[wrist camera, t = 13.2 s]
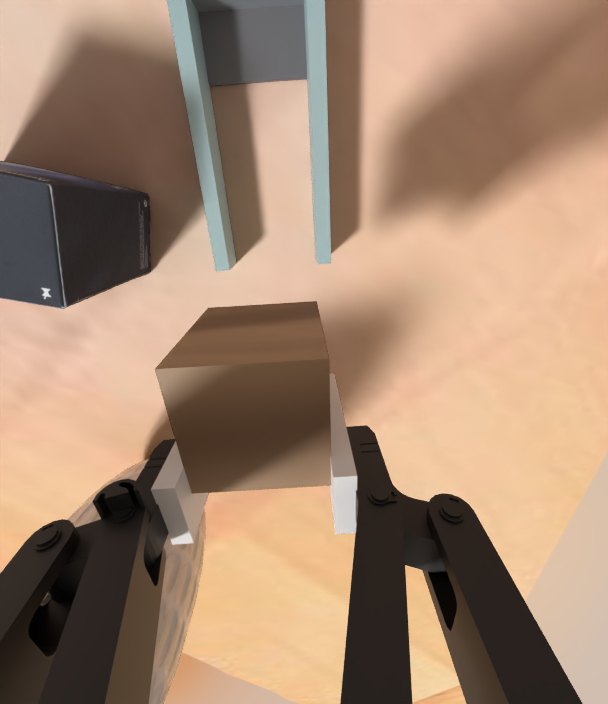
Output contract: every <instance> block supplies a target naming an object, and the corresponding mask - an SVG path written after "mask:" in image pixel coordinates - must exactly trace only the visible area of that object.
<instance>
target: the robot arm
mask: <svg viewBox="0 0 608 704" xmlns="http://www.w3.org/2000/svg"><path fill="white" fill-rule="evenodd" d="M330 417H331V457H330V460H331V484H332V485H330V494H331V503H332V511H333V520H334V528H335V534H344V533H356V536H355V547H354V559H353V570H352V581H351V592H350V603H349V615H348V626H347V637H346V648H345V660H344V671H343V682H342V693H341V704H412V690H411V671H410V652H409V633H408V614H407V595H406V576H405V565H407V566H411V567H414V568H418V569H421V570H423V573H424V576H425V579H426V582H427V585H428V588H429V591H430V594H431V597H432V600H433V603H434V606H435V609H436V613H437V616H438V619H439V622H440V625H441V628H442V631H443V634H444V637H445V640H446V643H447V646H448V649H449V652H450V655H451V658H452V661H453V664H454V667H455V670H456V673H457V676H458V679H459V682H460V685H461V688H462V691H463V694H464V697H465V700H466V703H467V704H582V702H581V700H580V698H579V697H578V695H577V693H576V691H575V690H574V688H573V686H572V684H571V683H570V681H569V679H568V677H567V675H566V674H565V672H564V670H563V669H562V667H561V665H560V663H559V661H558V659H557V658H556V656H555V654H554V652H553V651H552V649H551V647H550V645H549V643H548V642H547V640H546V638H545V636H544V635H543V633H542V631H541V630H540V627H539V626H538V624H537V622H536V620H535V619H534V617H533V615H532V613H531V612H530V610H529V608H528V606H527V604H526V603H525V601H524V599H523V597H522V596H521V594H520V592H519V590H518V588H517V587H516V585H515V583H514V581H513V580H512V578H511V576H510V574H509V572H508V571H507V569H506V567H505V565H504V564H503V562H502V560H501V558H500V556H499V555H498V553H497V551H496V549H495V548H494V546H493V544H492V542H491V540H490V539H489V537H488V535H487V533H486V532H485V530H484V528H483V526H482V525H481V523H480V521H479V519H478V517H477V516H476V514H475V512H474V510H473V509H472V508H471V507H470V505H469V504H468V503H466V502H465V501H464V500H462V499H461V498H459V497H457V496H454V495H451V494H439V495H435V496H434V497H433V498H431V499H430V502H427V501H422V500H418V499H414V498H410V497H408V496H406V495H404V494H402V493H401V492H399V491H398V490H397V489H396V488H395V487H394V486H393V484H392V482H391V480H390V477H389V474H388V471H387V468H386V465H385V462H384V459H383V456H382V453H381V451H380V447H379V444H378V442H377V439H376V436H375V433H374V432H373V431H372V430H371V429H370V428H369V427H368V426H353V427H346V423H345V419H344V414H343V410H342V405H341V401H340V397H339V392H338V388H337V383H336V379H335V374H334V373H333V374H330ZM208 494H209V493H195V494H192V492H191V489H190V486H189V483H188V479H187V476H186V473H185V470H184V467H183V464H182V461H181V457H180V454H179V450H178V447H177V444H176V440H175V439H172V440H164V441H163V442H162V443H160V444H159V445H158V446H157V447H156V448H155V449H154V451H153V452H152V454H151V456H150V458H149V461H147V463H146V464H145V466H144V469H143V470H142V471H141V473H140V475H139V476H138V478H137V480H136V481H135V480H131V479H122V480H118V481H116V482H113V483H111V484H109V485H108V486H106V487H104V488H103V489H102V490H101V491H100V492H99V493H98V494H97V495H96V496H95V498H94V499H93V501H92V502H93V504H94V506H95V508H96V510H97V512H98V514H99V516H100V518H101V519H99V520H97V521H94V522H91V523H88V524H85V525H82V526H79V527H76V528H75V526H74V524H73V523H72V522H71V521H70V520H63V519H62V520H58V521H53V522H51V523H49V524H47V525H45V526H43V527H42V528H40V529H39V530H38V531H36V532H35V533H34V534H33V535H32V536H31V537H30V538H29V539H28V540H27V541H26V542H25V543H24V544H23V546H22V547H21V548H20V550H19V551H18V552H17V553H16V555H15V556H14V557H13V558H12V560H11V561H10V562H9V563H8V565H7V566H6V567H5V568H4V570H3V571H2V572H1V574H0V704H149V697H150V688H151V680H152V672H153V663H154V655H155V647H156V638H157V630H158V622H159V613H160V605H161V597H162V588H163V580H164V572H165V563H166V551H165V549H164V544H165V542H166V539H167V536H168V535H169V538H170V540H171V543H172V545H174V544H189V543H194V540H195V537H196V534H197V530H198V527H199V524H200V520H201V517H202V514H203V511H204V507H205V504H206V501H207V497H208ZM47 593H48V594H47ZM46 594H47V596H46ZM45 596H46V597H45ZM44 598H45V599H44ZM43 599H44V600H43Z"/></svg>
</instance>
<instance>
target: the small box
mask: <svg viewBox="0 0 608 704" xmlns="http://www.w3.org/2000/svg"><path fill="white" fill-rule="evenodd" d="M149 222H150V209H149V196H148V195H147V194H145V193H142V192H138V191H134V190H131V189H127V188H124V187H119V186H116V185H112V184H107V183H103V182H99V181H95V180H90V179H85V178H81V177H77V176H72V175H68V174H63V173H59V172H54V171H50V170H46V169H41V168H36V167H31V166H26V165H20V164H15V163H10V162H4V161H0V298H2V299H9V300H14V301H20V302H26V303H32V304H38V305H44V306H50V307H56V308H62V309H65V308H66V307H68V306H70V305H73V304H76V303H78V302H81V301H83V300H85V299H88V298H90V297H92V296H95V295H97V294H99V293H102V292H105V291H106V290H109V289H111V288H113V287H115V286H118V285H120V284H123V283H125V282H128V281H130V280H132V279H135V278H138V277H141V276H143V275H146V274H149V273H150V272H151V270H150V268H151V264H150V242H149V239H150V238H149V234H150V230H149Z"/></svg>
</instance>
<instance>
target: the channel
mask: <svg viewBox="0 0 608 704" xmlns="http://www.w3.org/2000/svg"><path fill="white" fill-rule="evenodd" d="M167 4H168V9H169V15H170V20H171V26H172V31H173V37H174V42H175V48H176V54H177V59H178V65H179V70H180V76H181V81H182V87H183V92H184V98H185V103H186V109H187V114H188V120H189V125H190V131H191V136H192V142H193V147H194V153H195V158H196V164H197V169H198V175H199V180H200V186H201V191H202V197H203V202H204V208H205V213H206V219H207V224H208V230H209V235H210V241H211V246H212V252H213V257H214V263H215V268H216V271H225V270H230V269H231V268H232V267H233V266H234V265H235V264H236V256H235V250H234V243H233V236H232V230H231V223H230V217H229V210H228V203H227V197H226V190H225V184H224V177H223V171H222V164H221V157H220V151H219V144H218V138H217V131H216V124H215V118H214V111H213V105H212V98H211V92H210V86H217V85H231V84H245V83H260V82H274V81H288V80H302V79H307V84H308V106H309V129H310V151H311V173H312V195H313V217H314V239H315V258H316V261H317V264H328V263H331V234H330V193H329V151H328V109H327V68H326V26H325V0H167Z"/></svg>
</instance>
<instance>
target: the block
mask: <svg viewBox="0 0 608 704" xmlns="http://www.w3.org/2000/svg"><path fill="white" fill-rule="evenodd" d="M155 372H156V375H157V378H158V382H159V385H160V389H161V392H162V396H163V399H164V402H165V406H166V409H167V413H168V416H169V420H170V423H171V426H172V430H173V433H174V437H175V440H176V444H177V447H178V450H179V454H180V457H181V461H182V464H183V467H184V470H185V473H186V476H187V479H188V483H189V486H190V489H191V492H192V494H195V493H212V492H228V491H245V490H262V489H279V488H296V487H313V486H329V485H332V484H331V460H330V457H331V417H330V374H329V356H328V351H327V347H326V342H325V338H324V333H323V329H322V324H321V320H320V315H319V311H318V306H317V301H315V302H298V303H282V304H265V305H249V306H232V307H215V308H208V309H207V310H206V311H205V312H204V313H203V315H202V316H201V317H200V318H199V319H198V320H197V321H196V323H195V324H194V325H193V326H192V327H191V328H190V329H189V331H188V332H187V333H186V334H185V335H184V336H183V337H182V339H181V340H180V341H179V342H178V343H177V344H176V346H175V347H174V348H173V349H172V350H171V351H170V352H169V354H168V355H167V356H166V357H165V358H164V359H163V360H162V362H161V363H160V364H159V365H158V366H157V367H156V368H155Z"/></svg>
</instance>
